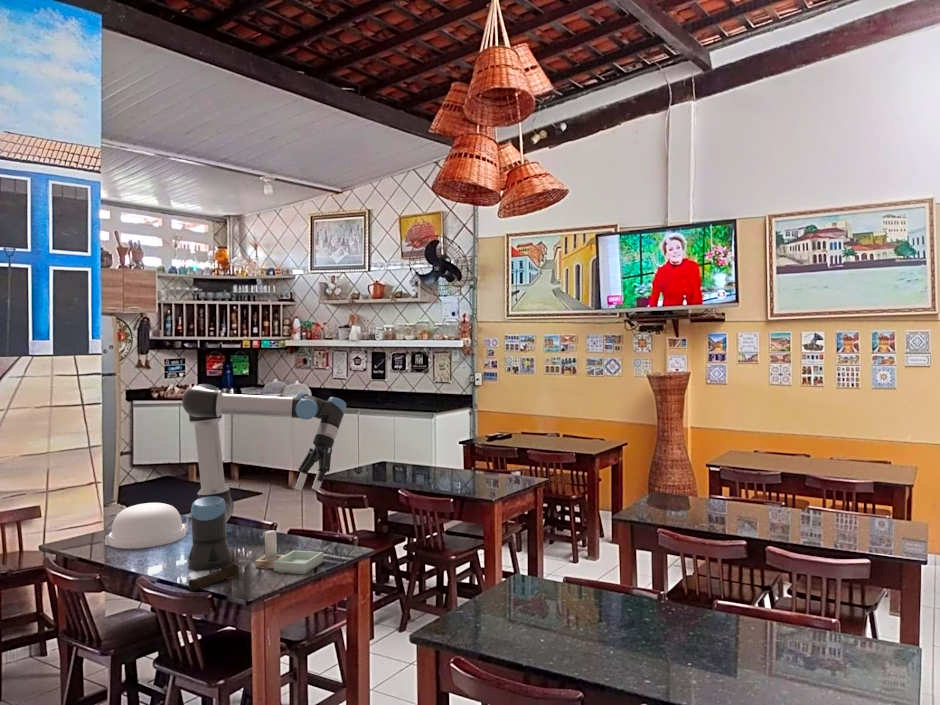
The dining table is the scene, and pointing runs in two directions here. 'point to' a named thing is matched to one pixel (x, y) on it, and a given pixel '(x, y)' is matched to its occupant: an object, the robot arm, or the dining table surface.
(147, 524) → the dome cover
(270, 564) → the slotted holder
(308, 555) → the tray
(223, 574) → the hand tool
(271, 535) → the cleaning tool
